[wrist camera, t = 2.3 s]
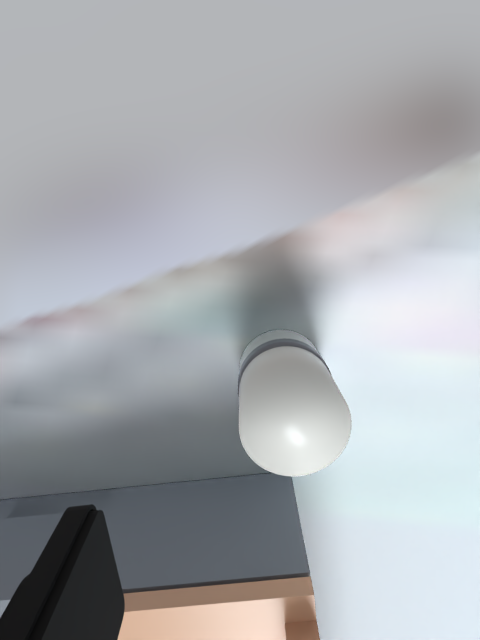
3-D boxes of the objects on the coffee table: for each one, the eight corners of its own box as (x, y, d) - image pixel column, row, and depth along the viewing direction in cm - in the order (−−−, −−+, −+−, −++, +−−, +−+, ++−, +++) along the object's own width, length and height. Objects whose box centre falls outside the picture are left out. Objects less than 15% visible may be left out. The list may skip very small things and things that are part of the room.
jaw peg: (319, 324, 20) (349, 367, 15) (324, 402, 22) (355, 471, 16) (233, 333, 21) (230, 380, 15) (243, 411, 22) (244, 482, 16)
